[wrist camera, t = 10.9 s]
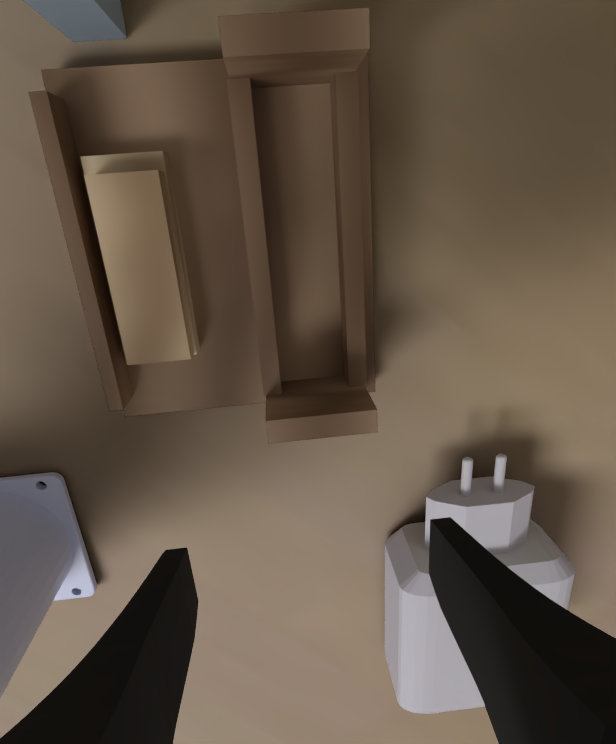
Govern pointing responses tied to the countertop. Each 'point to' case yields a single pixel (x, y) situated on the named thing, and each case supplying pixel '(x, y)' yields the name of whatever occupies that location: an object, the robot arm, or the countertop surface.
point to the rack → (240, 216)
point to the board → (83, 18)
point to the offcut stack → (143, 254)
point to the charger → (417, 596)
